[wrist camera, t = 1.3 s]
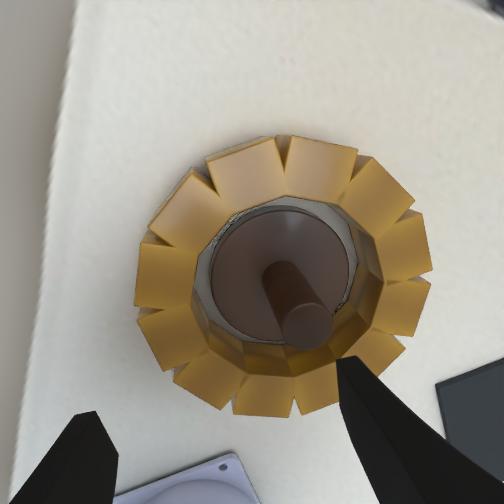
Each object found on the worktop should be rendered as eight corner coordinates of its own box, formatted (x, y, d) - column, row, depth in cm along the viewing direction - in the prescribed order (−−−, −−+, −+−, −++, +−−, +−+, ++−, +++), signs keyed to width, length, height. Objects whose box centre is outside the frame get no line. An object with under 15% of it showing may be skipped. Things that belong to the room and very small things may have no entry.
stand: (237, 348, 21) (251, 429, 15) (189, 234, 18) (183, 279, 13) (354, 303, 21) (412, 367, 15) (321, 185, 18) (374, 208, 13)
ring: (204, 411, 22) (204, 453, 19) (98, 196, 17) (77, 208, 14) (418, 330, 22) (450, 359, 19) (367, 97, 17) (399, 90, 15)
